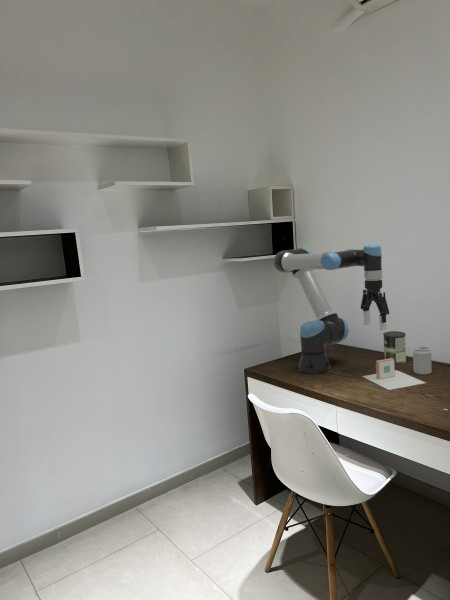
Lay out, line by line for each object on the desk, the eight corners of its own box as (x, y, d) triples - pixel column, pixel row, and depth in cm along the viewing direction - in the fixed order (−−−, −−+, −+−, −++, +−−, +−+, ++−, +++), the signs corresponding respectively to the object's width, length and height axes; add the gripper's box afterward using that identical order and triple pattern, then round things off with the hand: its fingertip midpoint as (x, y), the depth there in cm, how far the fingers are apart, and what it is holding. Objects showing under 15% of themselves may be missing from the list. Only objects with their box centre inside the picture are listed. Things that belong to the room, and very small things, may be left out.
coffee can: (384, 364, 225) (383, 336, 223) (383, 358, 235) (382, 331, 233) (407, 364, 222) (406, 335, 220) (405, 358, 232) (404, 330, 230)
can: (434, 372, 208) (433, 346, 206) (428, 377, 202) (427, 350, 200) (417, 369, 213) (416, 344, 211) (410, 374, 207) (410, 348, 206)
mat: (362, 377, 208) (362, 376, 208) (396, 371, 213) (396, 370, 213) (389, 391, 189) (388, 389, 189) (426, 384, 194) (426, 382, 194)
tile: (376, 378, 204) (375, 360, 203) (392, 375, 206) (391, 358, 205) (379, 379, 202) (378, 361, 201) (395, 376, 204) (394, 359, 203)
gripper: (351, 278, 215) (353, 323, 219) (381, 282, 192) (383, 333, 196) (365, 276, 217) (367, 321, 220) (397, 280, 194) (398, 331, 197)
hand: (374, 327), depth 208 cm, fingers open, 12 cm apart
